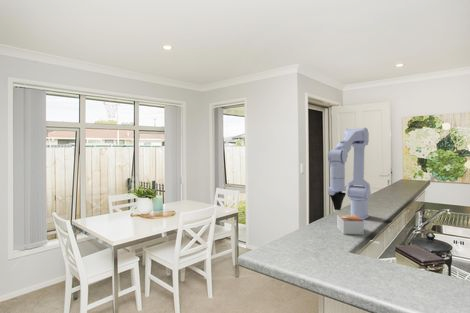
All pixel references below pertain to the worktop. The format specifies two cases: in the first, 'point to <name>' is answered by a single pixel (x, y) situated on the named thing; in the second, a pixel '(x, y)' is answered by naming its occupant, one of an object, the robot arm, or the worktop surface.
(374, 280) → the worktop surface
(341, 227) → the small box
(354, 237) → the worktop surface
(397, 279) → the worktop surface
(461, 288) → the worktop surface
